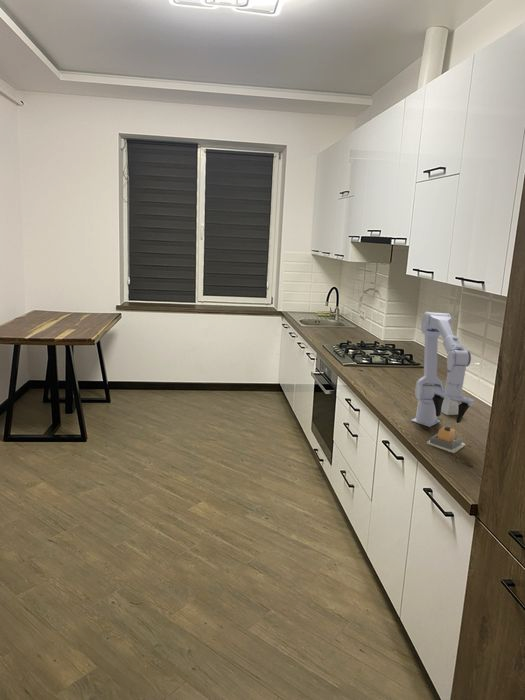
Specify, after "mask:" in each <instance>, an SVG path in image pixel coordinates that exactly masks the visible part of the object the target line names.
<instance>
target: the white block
mask: <svg viewBox="0 0 525 700" xmlns="http://www.w3.org/2000/svg"><path fill="white" fill-rule="evenodd" d="M444 391H445V389H444ZM459 404H461V403H460V402H457V401H453V400H450V399H446V398H444V400H443V403H442V408H441V414H444V415H446V416H455V415H457V416H458V405H459Z"/></svg>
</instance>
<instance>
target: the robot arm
mask: <svg viewBox="0 0 525 700" xmlns="http://www.w3.org/2000/svg"><path fill="white" fill-rule="evenodd" d="M452 321H453V320H452V315H451V314H450V313H449V312H446V313H445V312H444V313H443V312H433V311H432V312H430V311H425V312H424V313H423V315H422V317H421V326H420V327H421V328H420V329H421V334H423V335H424V351H423V354H424V355H423V356H424V357H423V358H424V359H423V376H422V377H420V378H419V379H418V380H416V383H415V388H414V395H415V398H416V399H417V400H418V401H417V407H416V414H415V418H412V419H411V422H413V423H417V424H419V425H423V426H426V427H432V426H434V425H436V424H438V423H439V422H441V421H440V420H439V419H438V418H439V417H440V416H441V414H442V412H441V408H442V403H443V400H444V398H446V399H450V400H453V401H457V402H460V404H459V405H458V414H457V418H456V423H457V424H459V423H461V421H462V420H463V417H464V415H465V413H466V412H467V410H468V409H469V408H470V407H472V406H473V405H474V399H473V398H472V399H471V398H469V397H467V396H464V395H462V394H463V393H462V392H463V385H464V381H465V376H466V371H467V368H468V367H469V366H470V364H471V361H472V354H471V352H470V350H468V349H466V348H464V347H463V344H462V343H461V341H460V339H459V337H458V336H457V335H455V334H454V332H453V330H452V327H451V325H452ZM440 336H442V337H441V338H442V339H443V342H442V345H443V347H444V349H445V351H446V354H447V355H446V362H447V364H446V369H447V374H446V378H445V379H446V381H445V385H444V384H443V383H444V382H443V381H442V380H441V379H439V377H438V343H439V341H438V340H439V337H440ZM444 390H445V391H444Z"/></svg>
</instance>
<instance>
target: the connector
mask: <svg viewBox="0 0 525 700" xmlns="http://www.w3.org/2000/svg"><path fill="white" fill-rule="evenodd" d="M455 434H456V429H454V428H451V427H449V426H443V427H440V428H439V429H438V438H437V439H440V440H443V441H446V442H449V443H452V442H453V441H454V440H455V436H456V435H455Z"/></svg>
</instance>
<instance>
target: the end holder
mask: <svg viewBox="0 0 525 700" xmlns="http://www.w3.org/2000/svg"><path fill="white" fill-rule="evenodd" d="M437 438H438V433H436V434H434V435H432V436H431V437H430V439H429V440H428V441H426V445H429V446H432V447H435V448H438V449H441V450H443V451H446V452H449V453H453V454H455V453H456V452H458V451H459V450H461V449H462V448H464V447H465V446H466V443H464V442H463V438H462V437H459V438H457V439H454V441H453V442H452V443H449V442H446V441H443V440H440V439H437Z"/></svg>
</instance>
